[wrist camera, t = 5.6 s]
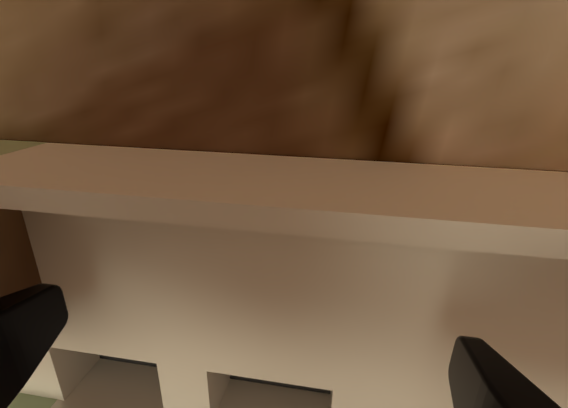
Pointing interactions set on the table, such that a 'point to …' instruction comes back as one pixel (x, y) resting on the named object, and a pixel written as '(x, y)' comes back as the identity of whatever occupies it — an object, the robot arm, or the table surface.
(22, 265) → the walnut block
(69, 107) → the table surface
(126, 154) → the tray
